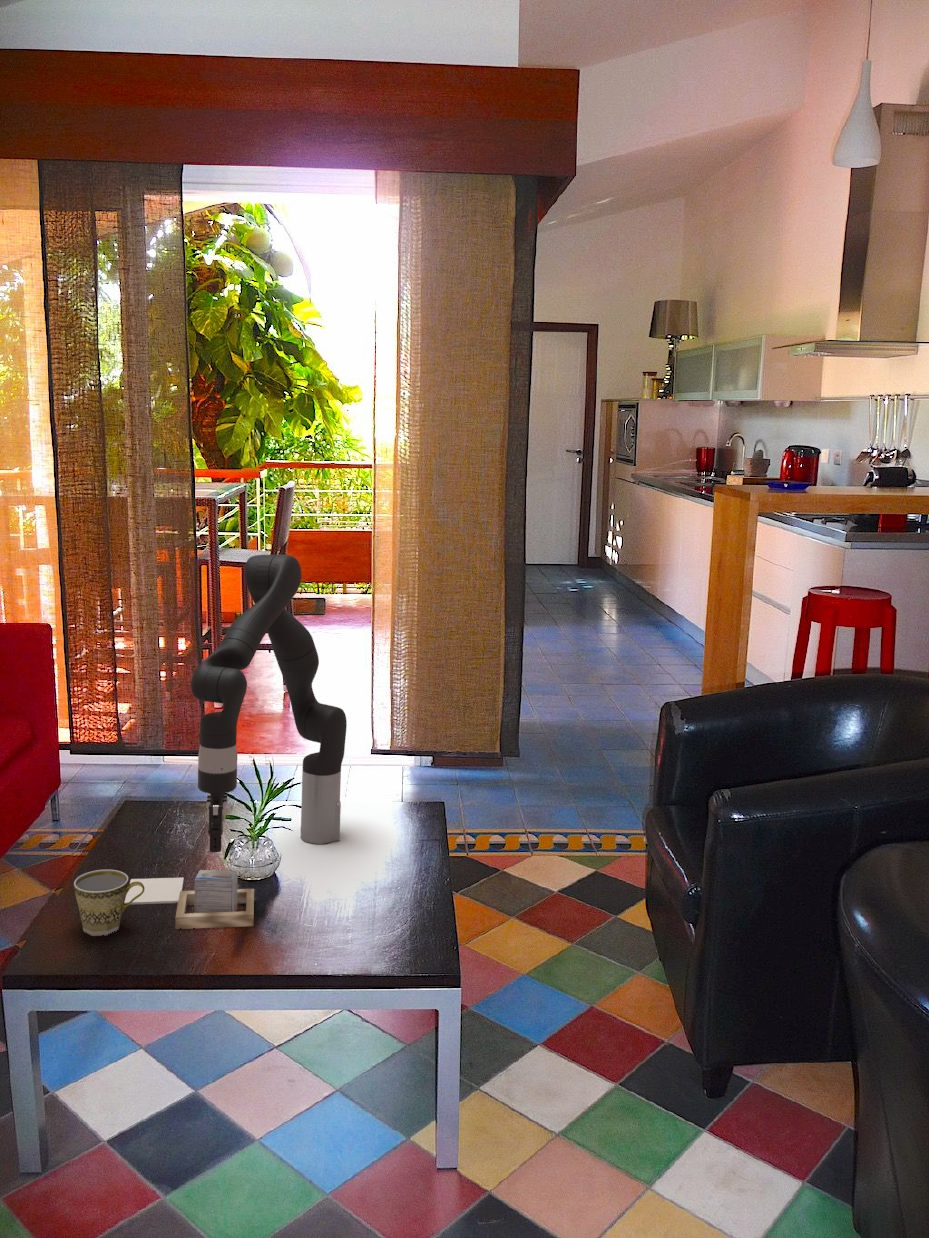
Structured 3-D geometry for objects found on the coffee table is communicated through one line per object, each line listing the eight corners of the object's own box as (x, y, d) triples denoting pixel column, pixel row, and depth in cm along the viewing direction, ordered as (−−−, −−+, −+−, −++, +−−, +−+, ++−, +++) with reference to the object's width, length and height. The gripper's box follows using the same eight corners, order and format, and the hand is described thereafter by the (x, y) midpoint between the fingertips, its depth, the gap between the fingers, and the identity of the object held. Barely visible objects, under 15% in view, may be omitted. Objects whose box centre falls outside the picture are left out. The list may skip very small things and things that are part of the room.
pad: (183, 879, 220) (183, 877, 220) (179, 902, 210) (179, 900, 210) (130, 881, 218) (130, 879, 218) (124, 904, 208) (124, 902, 208)
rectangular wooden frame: (253, 899, 213) (254, 888, 213) (253, 926, 202) (253, 914, 202) (179, 902, 210) (180, 891, 210) (175, 929, 199) (175, 917, 199)
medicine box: (237, 909, 208) (238, 870, 207) (233, 920, 204) (234, 879, 202) (198, 908, 208) (199, 868, 206) (193, 918, 204) (194, 878, 202)
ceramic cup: (70, 941, 192) (69, 892, 190) (79, 916, 202) (78, 869, 200) (141, 938, 195) (141, 890, 193) (147, 914, 204) (147, 867, 202)
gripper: (236, 777, 194) (234, 857, 197) (238, 754, 208) (236, 829, 211) (195, 777, 193) (194, 858, 196) (200, 754, 206) (199, 829, 209)
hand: (216, 842), depth 203 cm, fingers open, 8 cm apart
